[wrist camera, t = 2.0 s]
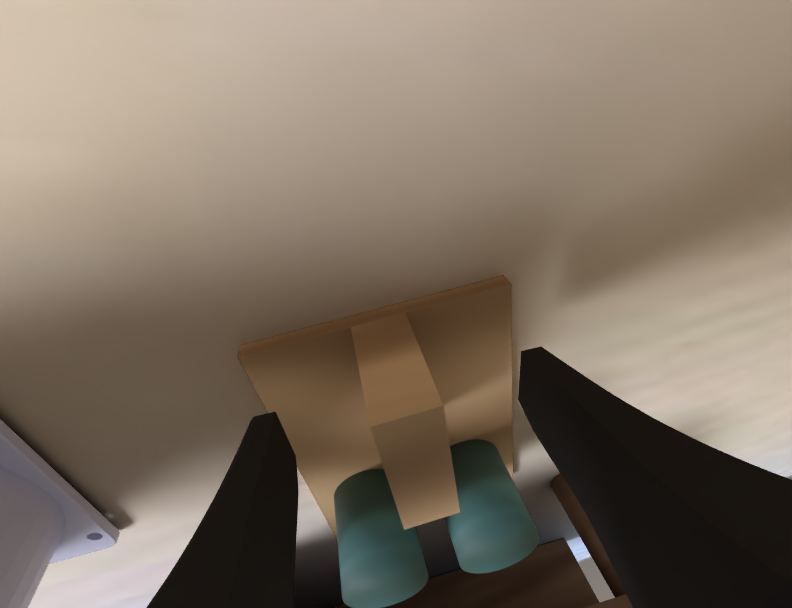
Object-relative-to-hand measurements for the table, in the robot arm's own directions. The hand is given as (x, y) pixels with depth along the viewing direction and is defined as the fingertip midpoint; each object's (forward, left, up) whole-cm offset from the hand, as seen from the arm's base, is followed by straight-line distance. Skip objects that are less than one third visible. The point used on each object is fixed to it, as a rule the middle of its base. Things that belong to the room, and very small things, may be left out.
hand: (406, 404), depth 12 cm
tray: (+5, 0, -3) cm, 6 cm away
